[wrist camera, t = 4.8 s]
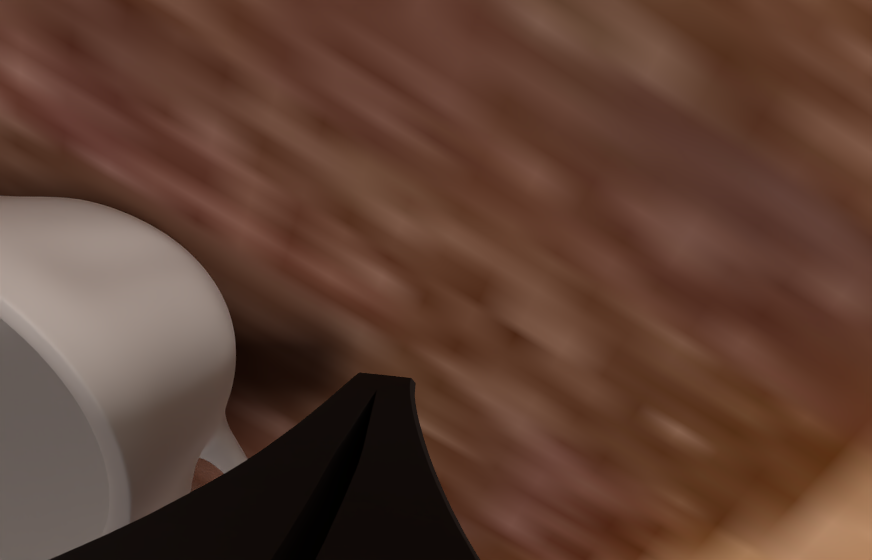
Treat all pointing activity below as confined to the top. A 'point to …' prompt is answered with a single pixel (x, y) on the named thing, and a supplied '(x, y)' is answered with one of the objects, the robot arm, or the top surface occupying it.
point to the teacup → (103, 373)
